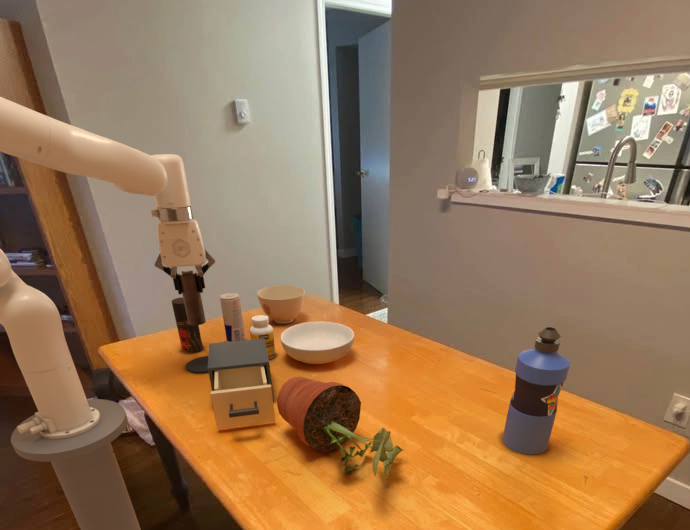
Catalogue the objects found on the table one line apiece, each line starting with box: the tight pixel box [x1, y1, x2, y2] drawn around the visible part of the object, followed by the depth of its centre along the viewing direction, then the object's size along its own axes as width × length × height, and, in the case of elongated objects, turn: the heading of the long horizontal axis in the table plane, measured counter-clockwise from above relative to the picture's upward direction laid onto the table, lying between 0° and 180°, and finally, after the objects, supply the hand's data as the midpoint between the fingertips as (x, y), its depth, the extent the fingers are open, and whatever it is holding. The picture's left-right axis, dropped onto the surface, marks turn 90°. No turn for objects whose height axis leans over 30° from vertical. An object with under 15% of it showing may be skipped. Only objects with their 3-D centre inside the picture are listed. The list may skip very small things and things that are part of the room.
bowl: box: [256, 284, 306, 325], centre depth 156 cm, size 16×16×10 cm
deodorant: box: [171, 296, 204, 355], centre depth 134 cm, size 6×6×15 cm
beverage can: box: [219, 292, 247, 342], centre depth 138 cm, size 6×6×15 cm
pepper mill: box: [177, 268, 207, 326], centre depth 118 cm, size 4×4×14 cm
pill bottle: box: [249, 314, 276, 360], centre depth 130 cm, size 6×6×12 cm
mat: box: [185, 355, 209, 374], centre depth 128 cm, size 10×10×1 cm
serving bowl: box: [280, 320, 355, 365], centre depth 132 cm, size 21×21×7 cm
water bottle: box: [502, 326, 571, 456], centre depth 90 cm, size 9×9×25 cm
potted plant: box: [276, 376, 404, 481], centre depth 88 cm, size 16×15×35 cm
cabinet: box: [207, 338, 274, 403], centre depth 113 cm, size 15×14×11 cm
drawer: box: [210, 365, 276, 430], centre depth 102 cm, size 18×12×9 cm
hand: (191, 291), depth 117 cm, fingers closed on pepper mill, 4 cm apart
